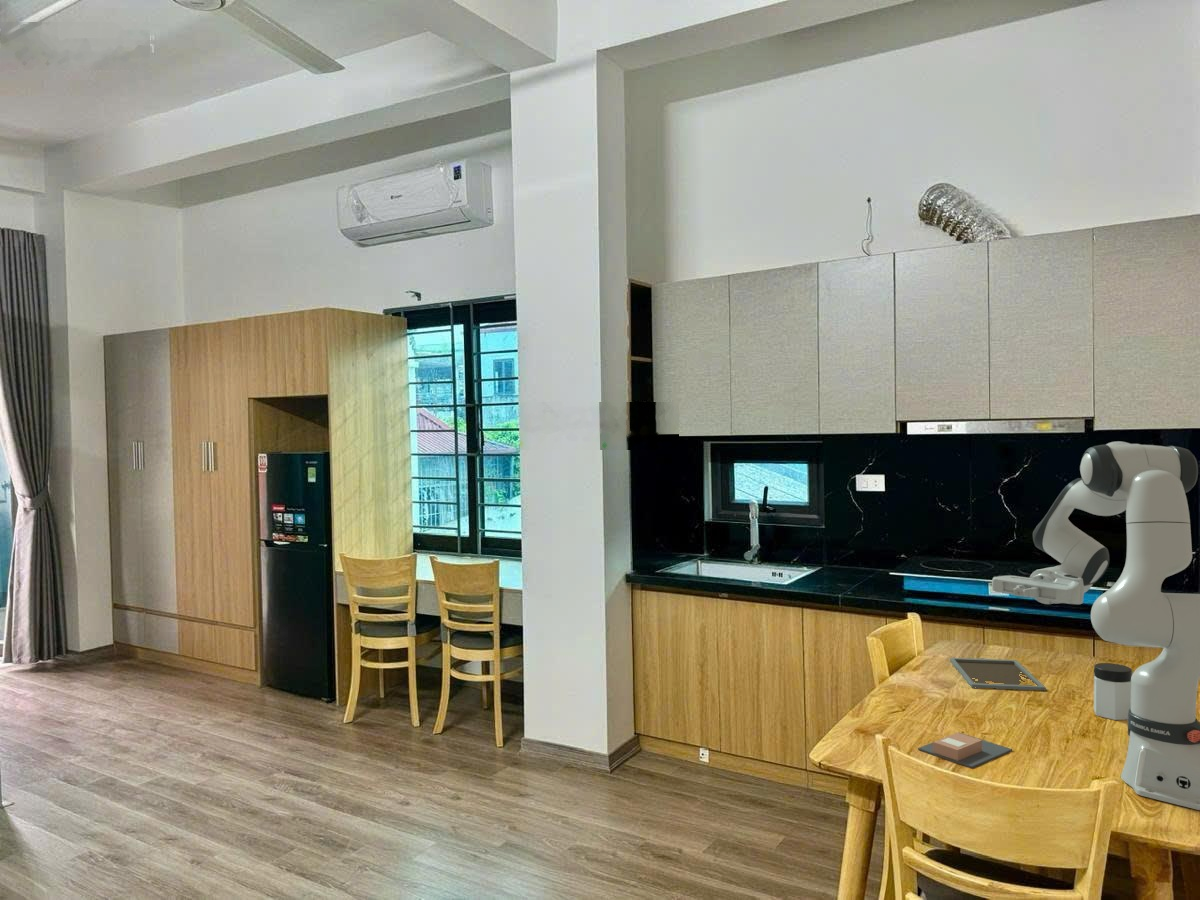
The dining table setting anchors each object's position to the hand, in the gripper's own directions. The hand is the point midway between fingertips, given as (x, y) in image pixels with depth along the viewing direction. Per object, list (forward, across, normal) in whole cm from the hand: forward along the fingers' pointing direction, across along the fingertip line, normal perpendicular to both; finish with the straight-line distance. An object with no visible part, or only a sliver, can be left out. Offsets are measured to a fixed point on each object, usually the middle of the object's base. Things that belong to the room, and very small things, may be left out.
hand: (1018, 592), depth 209 cm
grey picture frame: (-33, -26, +33) cm, 54 cm away
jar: (-24, +11, +32) cm, 42 cm away
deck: (+24, +2, +30) cm, 39 cm away
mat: (+26, +2, +32) cm, 41 cm away
